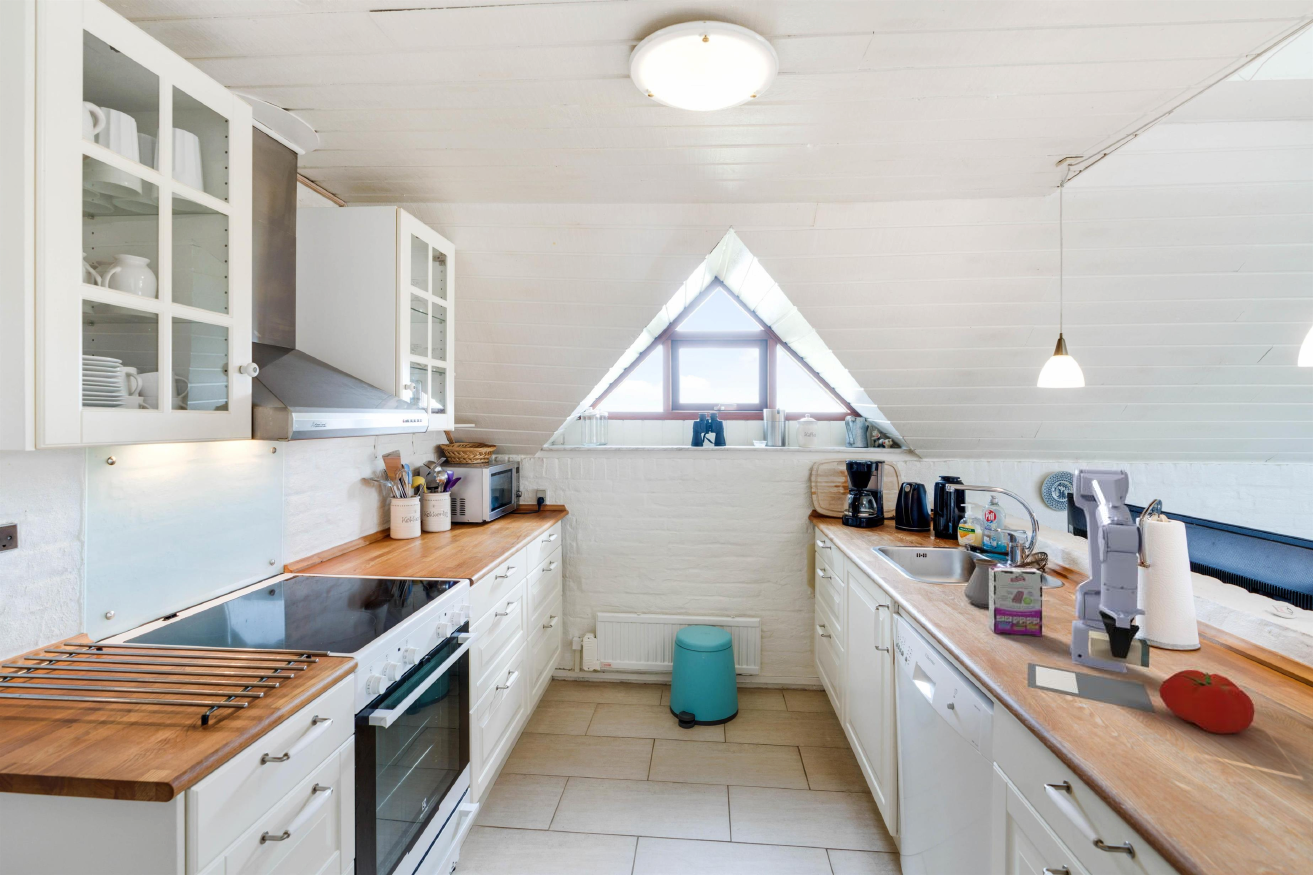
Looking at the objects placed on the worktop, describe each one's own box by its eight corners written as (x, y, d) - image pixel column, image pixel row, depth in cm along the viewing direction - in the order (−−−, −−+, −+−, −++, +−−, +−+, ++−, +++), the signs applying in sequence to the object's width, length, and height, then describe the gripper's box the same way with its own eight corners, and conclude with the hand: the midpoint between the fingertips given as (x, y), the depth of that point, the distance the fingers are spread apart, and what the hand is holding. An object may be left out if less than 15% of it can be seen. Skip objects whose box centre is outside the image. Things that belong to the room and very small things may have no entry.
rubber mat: (1027, 688, 118) (1027, 685, 118) (1027, 664, 130) (1027, 661, 130) (1155, 714, 108) (1155, 712, 107) (1143, 686, 119) (1143, 683, 119)
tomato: (1157, 700, 113) (1158, 657, 113) (1248, 721, 105) (1249, 674, 105) (1160, 726, 103) (1161, 679, 103) (1260, 752, 95) (1261, 700, 95)
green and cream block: (1090, 657, 116) (1090, 637, 116) (1088, 649, 120) (1088, 630, 120) (1149, 667, 112) (1149, 647, 111) (1145, 659, 115) (1145, 639, 115)
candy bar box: (1034, 630, 151) (1036, 567, 151) (1042, 637, 146) (1043, 572, 146) (987, 626, 154) (988, 565, 154) (993, 633, 149) (994, 569, 149)
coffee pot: (965, 606, 171) (966, 556, 170) (961, 596, 181) (962, 548, 181) (1051, 616, 163) (1052, 562, 162) (1042, 604, 173) (1043, 554, 173)
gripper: (1151, 597, 107) (1149, 670, 108) (1139, 579, 119) (1137, 645, 120) (1103, 591, 111) (1102, 662, 111) (1096, 574, 123) (1095, 638, 124)
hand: (1117, 652), depth 116 cm, fingers closed on green and cream block, 4 cm apart
